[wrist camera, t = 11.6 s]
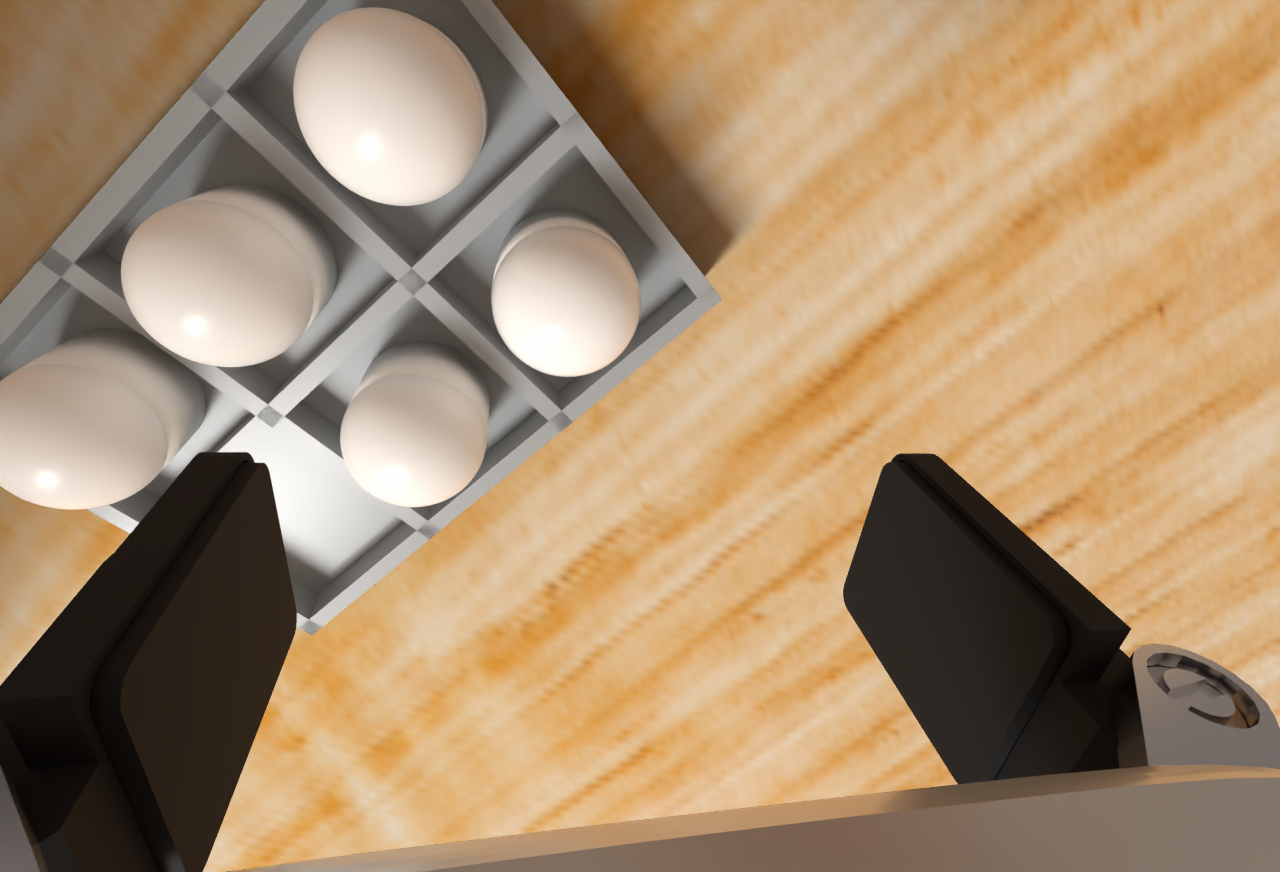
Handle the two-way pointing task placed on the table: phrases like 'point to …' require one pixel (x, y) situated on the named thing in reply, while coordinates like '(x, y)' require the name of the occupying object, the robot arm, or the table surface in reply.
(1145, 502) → the table surface
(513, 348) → the egg
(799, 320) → the table surface
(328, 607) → the carton
